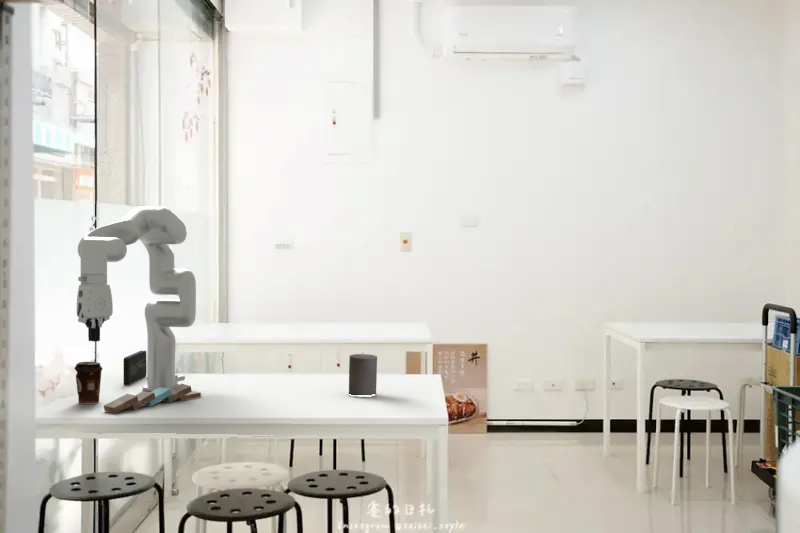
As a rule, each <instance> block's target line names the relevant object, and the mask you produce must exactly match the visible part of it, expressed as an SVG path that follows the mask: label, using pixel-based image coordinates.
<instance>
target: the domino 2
mask: <svg viewBox="0 0 800 533" xmlns="http://www.w3.org/2000/svg"><path fill="white" fill-rule="evenodd" d="M151 392H153V393H154V394H155V399H154V400H152V401H150V402H148V403H146V404H145V405H144V406H148V407H152V406H154V405H156V404H157V403H159V402H161V400H163V399H164V398H166V397H168V396H170V395H171V390H170V389H168V388H162V387H159V388H157V389H155V390H154V391H151Z"/></svg>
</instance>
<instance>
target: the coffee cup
mask: <svg viewBox="0 0 800 533" xmlns="http://www.w3.org/2000/svg"><path fill="white" fill-rule="evenodd" d="M73 369H74V370H75V372H76V374H75V381H76V391H77V396H78V403H79V404H82V405H95V404H98V403H100V393H101V379H102V371H103V367H102V365H101V363H100V362H96V361H80V362H77V363H76V365H75V367H74V368H73Z"/></svg>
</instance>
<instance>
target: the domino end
mask: <svg viewBox="0 0 800 533" xmlns="http://www.w3.org/2000/svg"><path fill="white" fill-rule="evenodd" d="M197 397H198V398H201V397H202V393H201V391H193V390H192V392H190V393H188V394H186V395H184V396H182V397H180V398H178V399H176V400H175V401H179V402H181V401H186V400H192V399H197Z"/></svg>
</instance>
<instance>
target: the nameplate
mask: <svg viewBox="0 0 800 533" xmlns="http://www.w3.org/2000/svg"><path fill="white" fill-rule="evenodd" d="M145 377H146V378H147V350H139V351H137V352H135V353H132V354H130V355H128V356H125V357H123V385H124V386H131V385H132V384H134V383H136V382H139V381H140V380H142V379H144V378H145Z"/></svg>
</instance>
